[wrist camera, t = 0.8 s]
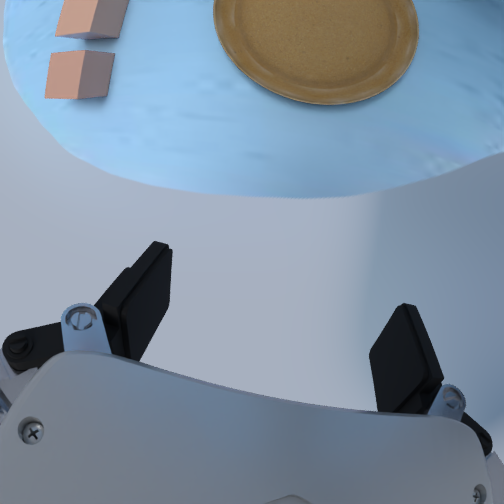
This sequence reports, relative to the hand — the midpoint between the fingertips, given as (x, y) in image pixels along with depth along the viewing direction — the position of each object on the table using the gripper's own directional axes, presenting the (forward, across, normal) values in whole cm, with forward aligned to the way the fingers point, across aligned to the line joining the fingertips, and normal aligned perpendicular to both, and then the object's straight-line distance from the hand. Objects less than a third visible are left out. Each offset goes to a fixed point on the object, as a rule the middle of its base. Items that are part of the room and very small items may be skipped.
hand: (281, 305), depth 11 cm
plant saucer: (+29, +1, -20) cm, 35 cm away
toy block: (+28, +30, -17) cm, 45 cm away
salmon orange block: (+28, +31, -8) cm, 43 cm away
